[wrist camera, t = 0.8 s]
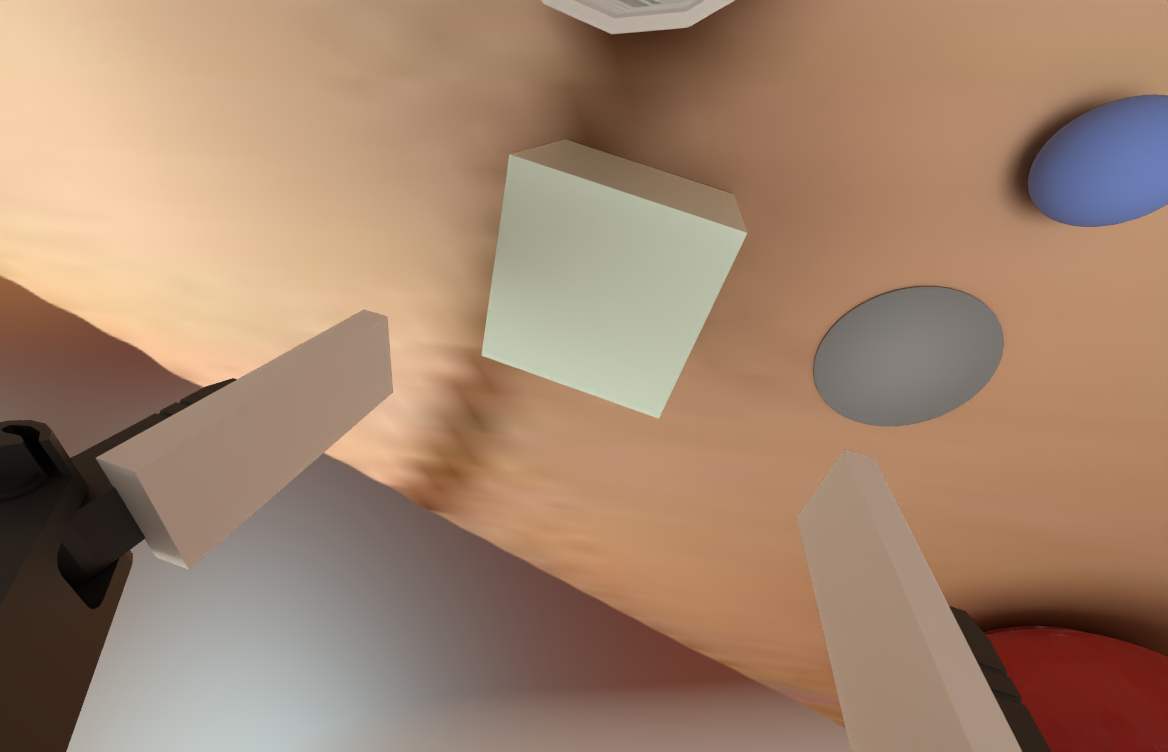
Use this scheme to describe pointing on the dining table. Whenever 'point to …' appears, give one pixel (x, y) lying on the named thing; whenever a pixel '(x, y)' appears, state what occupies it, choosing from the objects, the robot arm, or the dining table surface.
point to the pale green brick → (606, 271)
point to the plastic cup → (638, 13)
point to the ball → (1105, 164)
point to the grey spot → (908, 356)
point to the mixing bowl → (1087, 688)
